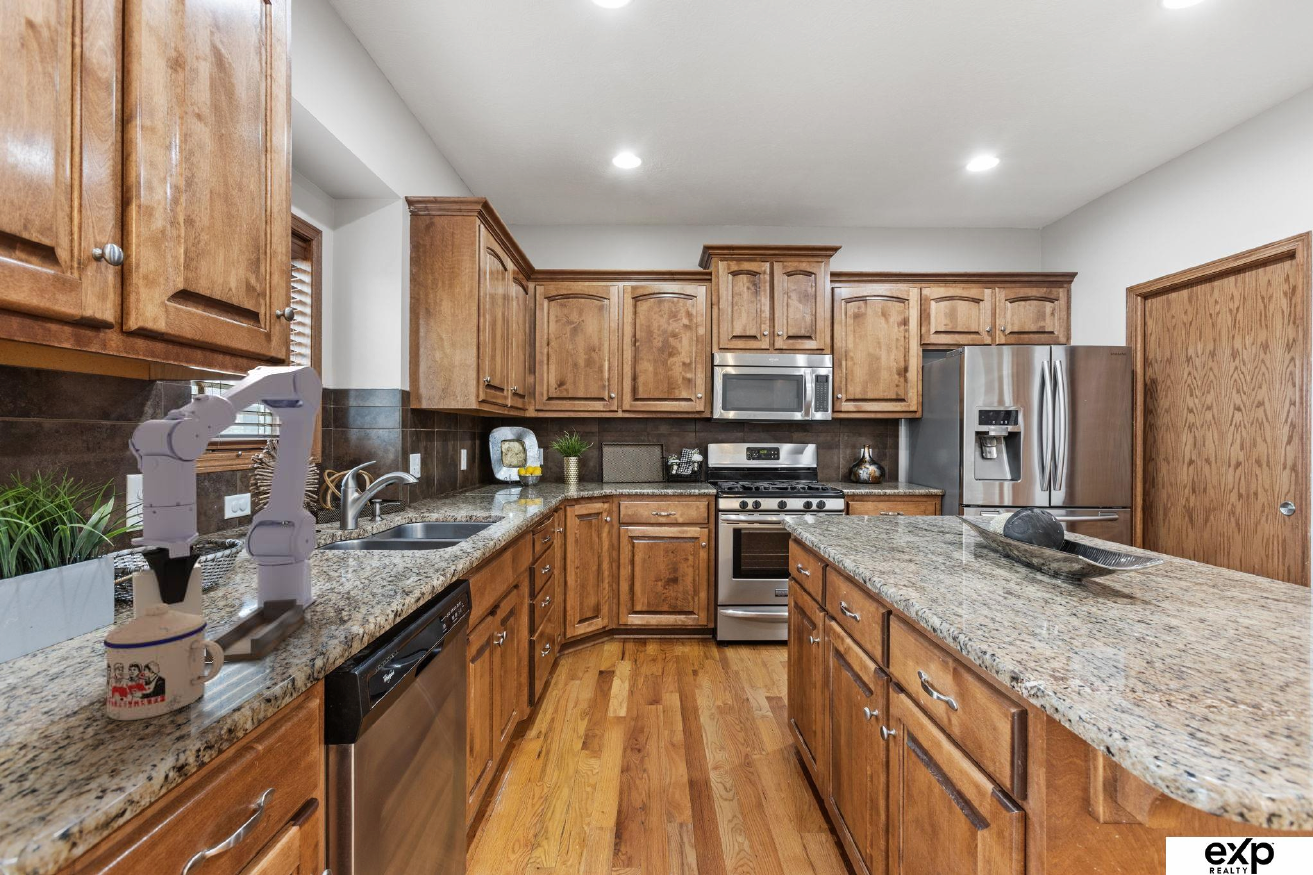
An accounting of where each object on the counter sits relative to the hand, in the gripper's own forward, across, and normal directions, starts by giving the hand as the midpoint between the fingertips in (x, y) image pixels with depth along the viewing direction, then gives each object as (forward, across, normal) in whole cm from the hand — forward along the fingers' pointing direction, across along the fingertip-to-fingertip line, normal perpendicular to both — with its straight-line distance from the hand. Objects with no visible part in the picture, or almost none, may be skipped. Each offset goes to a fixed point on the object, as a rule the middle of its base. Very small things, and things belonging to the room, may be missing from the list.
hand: (171, 600), depth 79 cm
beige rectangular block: (+2, 0, 0) cm, 3 cm away
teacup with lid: (+8, +17, -2) cm, 19 cm away
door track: (+8, +1, +10) cm, 13 cm away
